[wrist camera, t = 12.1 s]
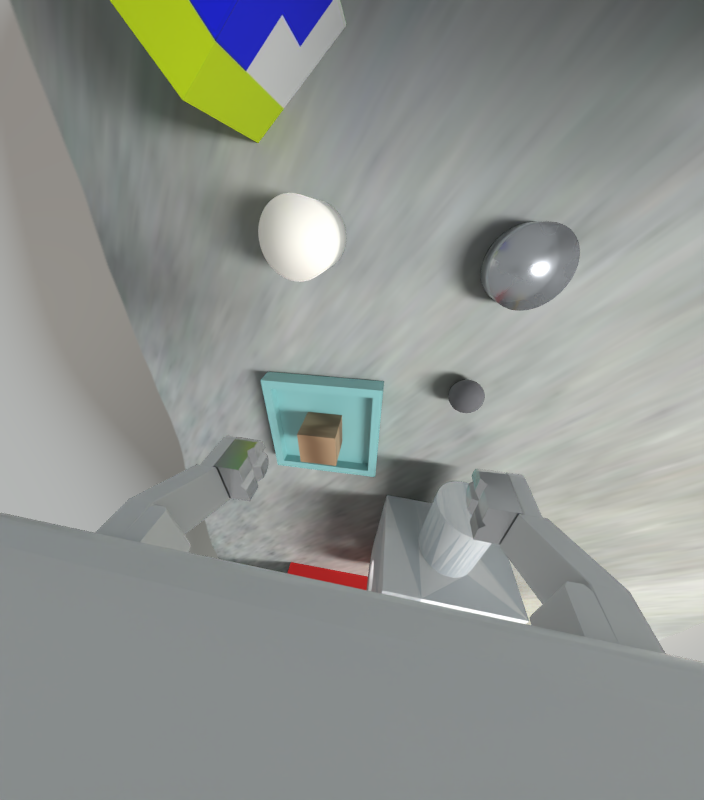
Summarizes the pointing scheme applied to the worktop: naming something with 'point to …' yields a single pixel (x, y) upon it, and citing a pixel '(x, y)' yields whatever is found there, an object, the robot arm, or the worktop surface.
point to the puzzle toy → (236, 51)
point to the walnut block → (320, 438)
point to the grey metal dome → (530, 264)
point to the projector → (442, 558)
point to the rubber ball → (466, 396)
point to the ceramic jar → (301, 236)
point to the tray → (327, 395)
